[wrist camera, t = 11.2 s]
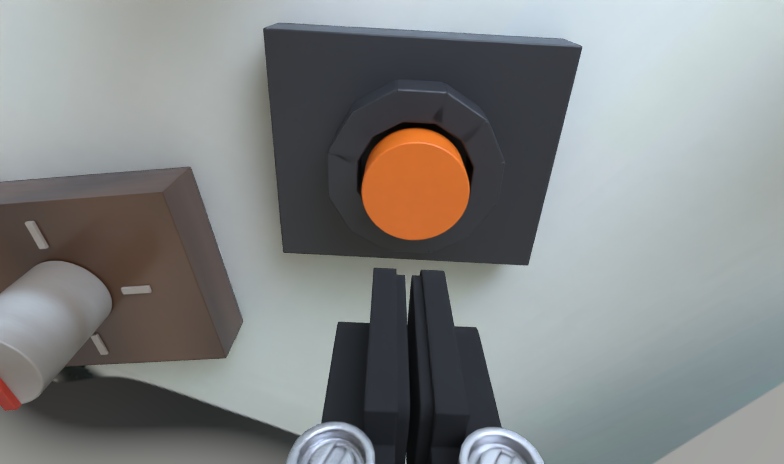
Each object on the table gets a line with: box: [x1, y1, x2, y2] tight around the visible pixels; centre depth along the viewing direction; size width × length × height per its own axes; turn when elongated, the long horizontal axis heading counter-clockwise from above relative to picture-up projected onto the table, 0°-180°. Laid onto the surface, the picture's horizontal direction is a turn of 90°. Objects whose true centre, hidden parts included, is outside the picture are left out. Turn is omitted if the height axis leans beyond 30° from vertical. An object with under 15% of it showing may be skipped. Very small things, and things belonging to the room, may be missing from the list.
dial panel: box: [0, 167, 243, 366], centre depth 23 cm, size 13×10×3 cm
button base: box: [263, 23, 582, 265], centre depth 19 cm, size 12×10×4 cm
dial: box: [0, 261, 112, 411], centre depth 20 cm, size 4×4×5 cm
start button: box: [361, 128, 470, 240], centre depth 17 cm, size 4×4×2 cm
